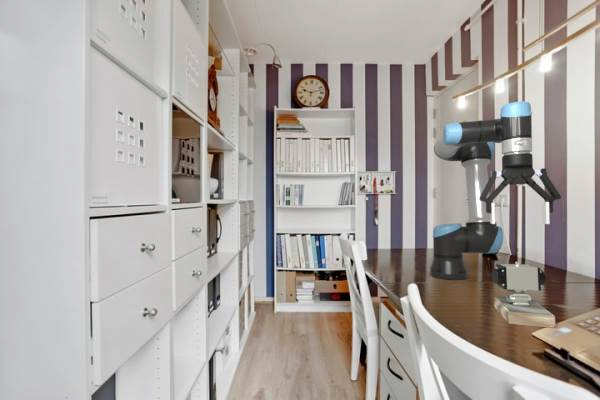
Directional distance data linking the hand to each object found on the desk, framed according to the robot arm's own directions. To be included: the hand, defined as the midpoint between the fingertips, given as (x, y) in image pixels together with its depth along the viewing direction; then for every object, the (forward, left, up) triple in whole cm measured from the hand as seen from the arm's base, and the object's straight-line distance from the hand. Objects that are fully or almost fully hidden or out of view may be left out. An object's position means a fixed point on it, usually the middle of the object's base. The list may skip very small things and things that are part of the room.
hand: (518, 223), depth 90 cm
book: (+7, -2, -26) cm, 27 cm away
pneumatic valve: (+7, -3, -23) cm, 24 cm away
